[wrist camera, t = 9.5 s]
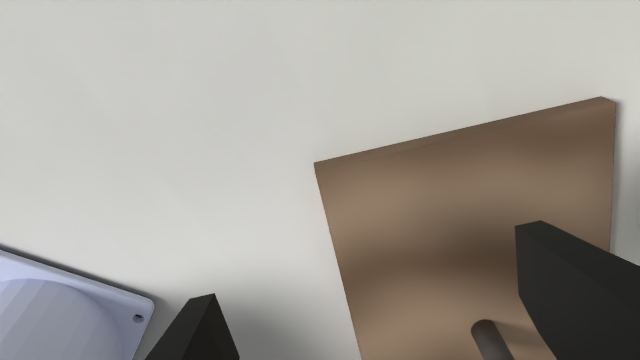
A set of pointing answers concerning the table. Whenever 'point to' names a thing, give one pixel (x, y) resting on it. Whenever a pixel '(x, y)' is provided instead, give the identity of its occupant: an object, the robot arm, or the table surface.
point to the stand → (463, 228)
